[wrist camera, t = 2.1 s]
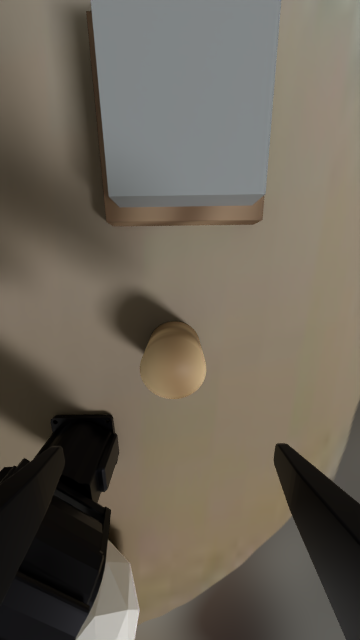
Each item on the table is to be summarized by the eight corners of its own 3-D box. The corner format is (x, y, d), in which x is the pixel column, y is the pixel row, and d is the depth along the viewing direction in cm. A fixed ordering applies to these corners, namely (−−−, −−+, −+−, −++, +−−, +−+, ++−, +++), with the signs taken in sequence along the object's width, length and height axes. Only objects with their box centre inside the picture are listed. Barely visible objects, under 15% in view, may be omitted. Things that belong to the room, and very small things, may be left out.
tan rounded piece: (150, 368, 21) (141, 399, 16) (147, 321, 20) (137, 339, 15) (199, 368, 21) (205, 398, 16) (199, 320, 20) (207, 338, 15)
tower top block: (119, 207, 15) (108, 196, 13) (105, 32, 13) (88, -22, 10) (251, 205, 15) (265, 194, 13) (263, 30, 13) (283, -25, 10)
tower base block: (116, 227, 18) (106, 221, 16) (101, 52, 15) (86, 10, 13) (251, 225, 18) (262, 219, 16) (263, 50, 15) (279, 8, 13)
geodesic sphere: (-8, 655, 24) (-28, 967, 13) (-39, 578, 20) (-99, 917, 10) (114, 552, 32) (161, 692, 22) (107, 486, 29) (160, 613, 18)
